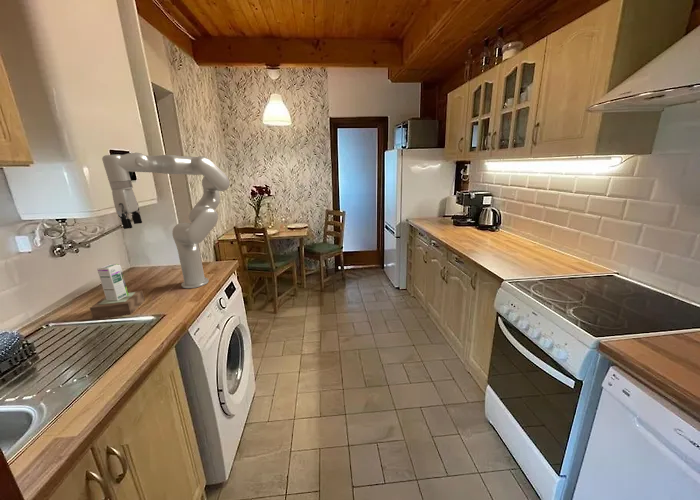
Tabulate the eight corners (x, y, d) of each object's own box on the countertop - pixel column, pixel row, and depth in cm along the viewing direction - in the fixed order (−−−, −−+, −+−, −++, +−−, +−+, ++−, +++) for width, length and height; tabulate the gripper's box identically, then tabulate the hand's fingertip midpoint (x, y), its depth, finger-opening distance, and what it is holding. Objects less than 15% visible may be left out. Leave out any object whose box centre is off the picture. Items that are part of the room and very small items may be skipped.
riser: (110, 304, 144) (107, 293, 142) (144, 300, 146) (142, 289, 144) (93, 319, 130) (89, 307, 129) (130, 314, 133) (127, 302, 131)
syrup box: (117, 301, 133) (108, 268, 129) (105, 300, 134) (96, 268, 131) (129, 295, 139) (120, 263, 135) (117, 295, 140) (109, 263, 136)
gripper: (121, 184, 140) (132, 222, 145) (100, 188, 124) (113, 231, 129) (140, 182, 141) (150, 220, 146) (121, 186, 125) (134, 229, 130)
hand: (133, 225), depth 138 cm, fingers open, 9 cm apart
